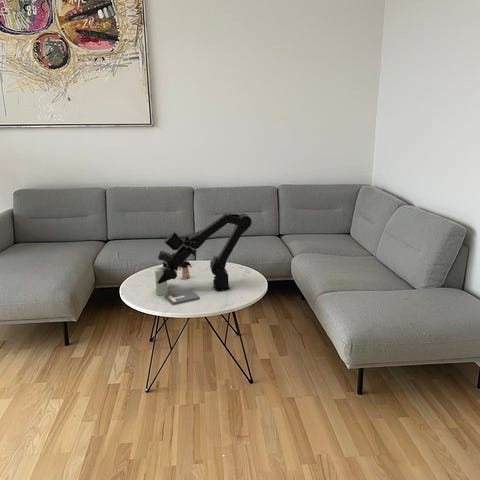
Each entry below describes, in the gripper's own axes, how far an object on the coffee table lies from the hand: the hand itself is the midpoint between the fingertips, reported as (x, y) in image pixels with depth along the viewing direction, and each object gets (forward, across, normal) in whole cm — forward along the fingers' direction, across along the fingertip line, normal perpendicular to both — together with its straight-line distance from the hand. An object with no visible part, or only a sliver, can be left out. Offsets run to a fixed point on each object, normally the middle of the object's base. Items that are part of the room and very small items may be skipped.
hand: (158, 280), depth 209 cm
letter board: (-3, +8, +12) cm, 15 cm away
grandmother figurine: (-5, -18, +14) cm, 23 cm away
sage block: (+4, 0, +6) cm, 7 cm away
